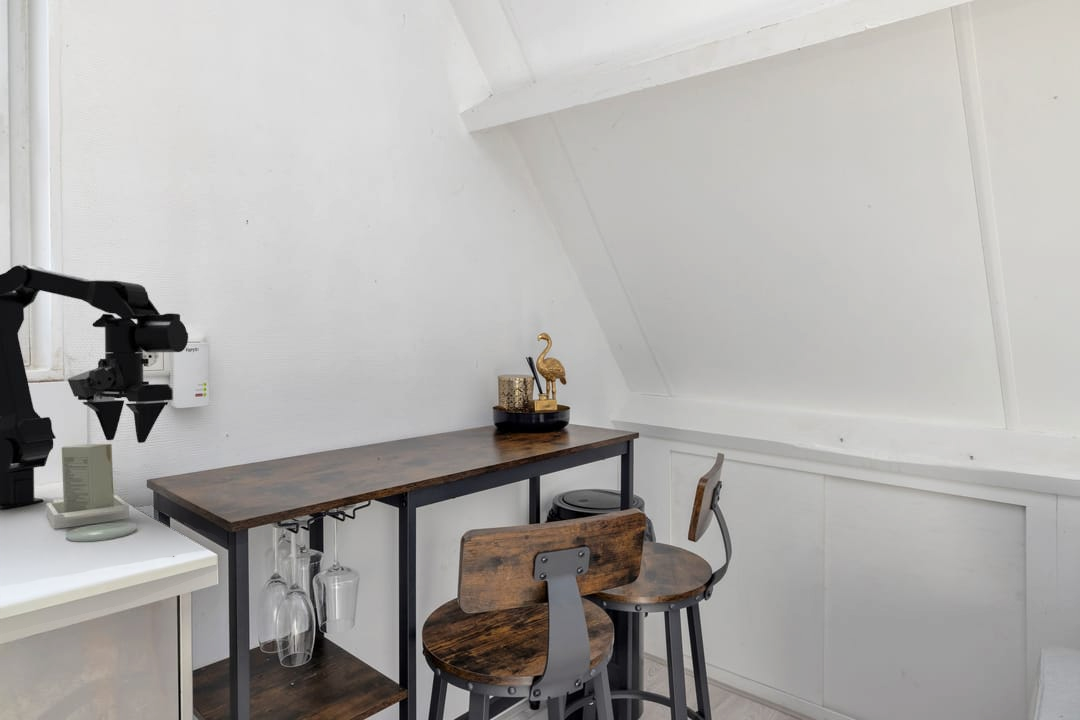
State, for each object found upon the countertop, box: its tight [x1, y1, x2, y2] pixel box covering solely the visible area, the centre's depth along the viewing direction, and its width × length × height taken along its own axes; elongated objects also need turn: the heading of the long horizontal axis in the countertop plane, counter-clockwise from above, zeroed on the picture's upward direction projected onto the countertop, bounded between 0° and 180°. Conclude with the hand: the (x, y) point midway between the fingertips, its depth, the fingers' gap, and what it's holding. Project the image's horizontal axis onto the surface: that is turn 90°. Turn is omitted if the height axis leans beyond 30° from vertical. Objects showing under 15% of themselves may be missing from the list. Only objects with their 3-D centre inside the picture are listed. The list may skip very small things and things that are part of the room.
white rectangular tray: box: [45, 494, 130, 530], centre depth 115 cm, size 18×10×2 cm, turn 41°
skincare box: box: [61, 443, 115, 513], centre depth 115 cm, size 6×4×12 cm
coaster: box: [65, 522, 137, 543], centre depth 104 cm, size 9×9×1 cm
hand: (125, 441), depth 121 cm, fingers open, 9 cm apart
